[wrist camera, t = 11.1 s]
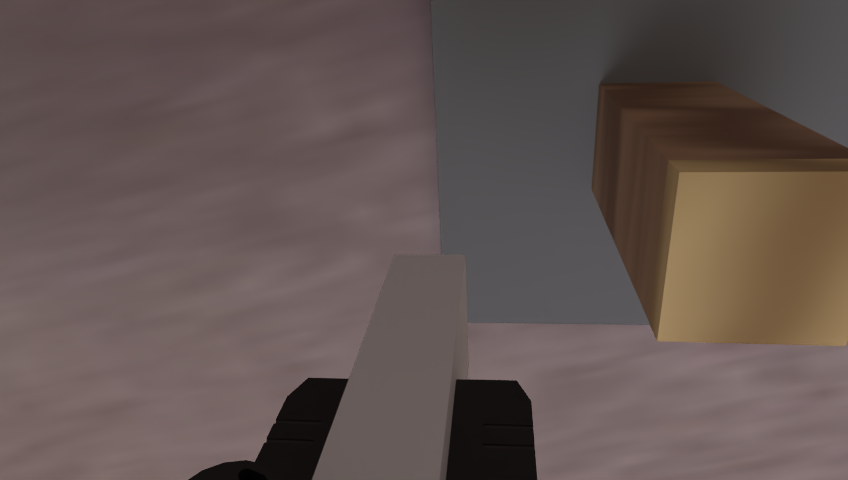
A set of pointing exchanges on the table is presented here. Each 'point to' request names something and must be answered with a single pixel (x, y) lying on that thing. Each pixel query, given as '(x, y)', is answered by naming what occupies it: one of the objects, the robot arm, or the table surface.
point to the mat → (592, 127)
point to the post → (724, 214)
